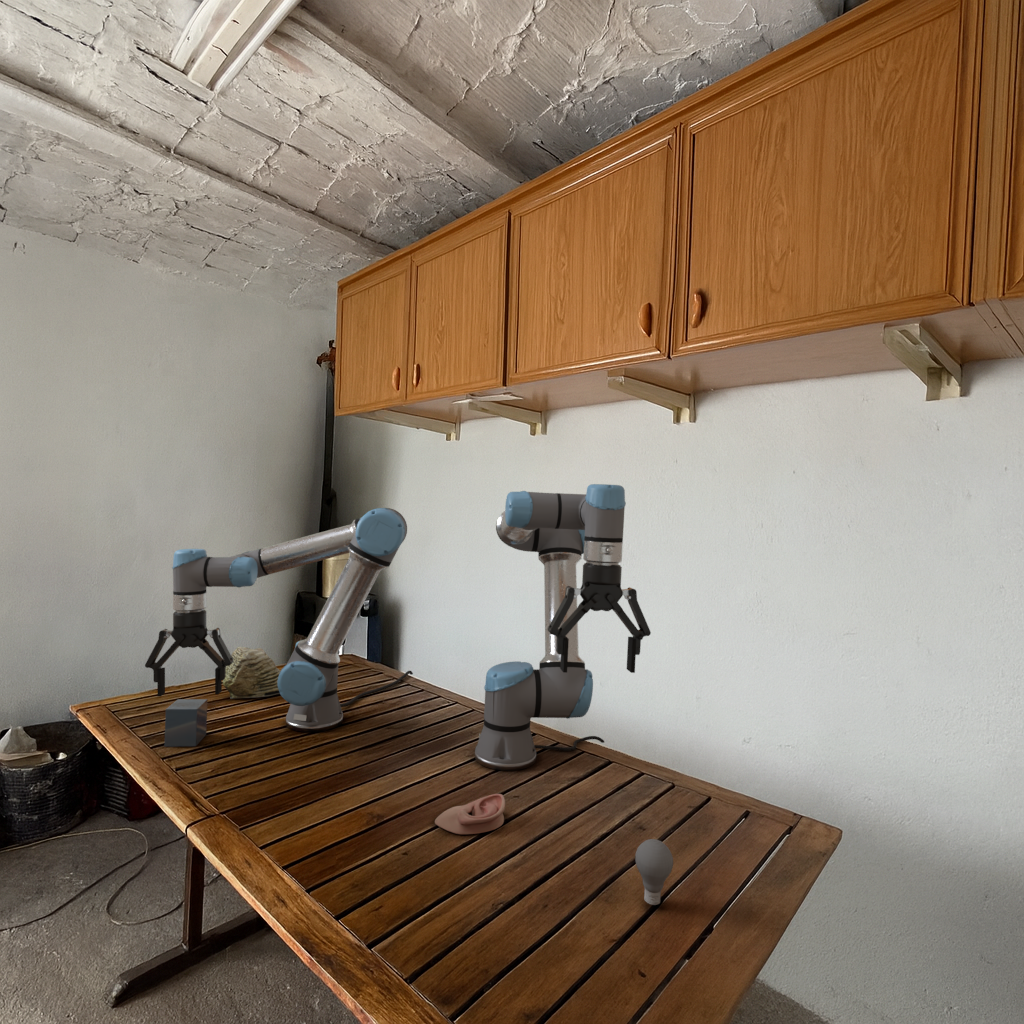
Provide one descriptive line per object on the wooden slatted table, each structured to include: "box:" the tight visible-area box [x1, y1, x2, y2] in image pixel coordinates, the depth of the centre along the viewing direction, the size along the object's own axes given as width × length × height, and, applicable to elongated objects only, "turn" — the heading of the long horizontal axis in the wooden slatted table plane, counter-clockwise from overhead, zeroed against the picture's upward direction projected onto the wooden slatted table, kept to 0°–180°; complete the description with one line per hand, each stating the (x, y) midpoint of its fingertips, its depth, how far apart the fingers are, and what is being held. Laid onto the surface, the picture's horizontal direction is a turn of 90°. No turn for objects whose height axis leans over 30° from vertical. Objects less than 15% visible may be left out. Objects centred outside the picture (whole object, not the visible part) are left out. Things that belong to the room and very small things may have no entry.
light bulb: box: [634, 838, 674, 906], centre depth 103 cm, size 6×6×10 cm
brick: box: [164, 698, 208, 748], centre depth 160 cm, size 7×8×9 cm
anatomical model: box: [434, 793, 506, 835], centre depth 126 cm, size 13×4×12 cm
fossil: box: [222, 646, 281, 699], centre depth 198 cm, size 9×18×15 cm, turn 132°
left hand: (190, 694), depth 160 cm, fingers open, 13 cm apart
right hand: (597, 670), depth 124 cm, fingers open, 13 cm apart
